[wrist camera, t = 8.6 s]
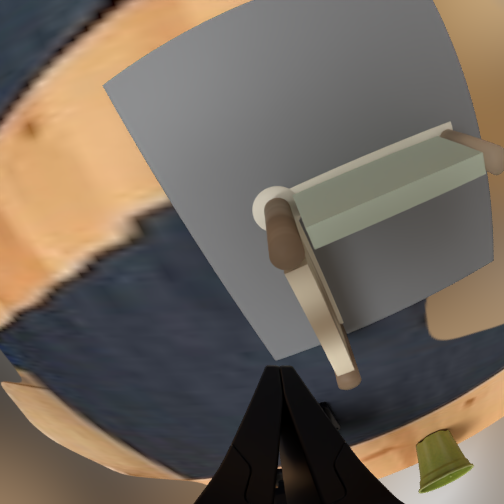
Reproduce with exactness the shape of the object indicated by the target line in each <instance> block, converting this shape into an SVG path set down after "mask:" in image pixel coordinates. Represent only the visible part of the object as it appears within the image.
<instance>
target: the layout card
mask: <svg viewBox="0 0 504 504" xmlns="http://www.w3.org/2000/svg"><path fill="white" fill-rule="evenodd" d="M103 87H104V89H105V91H106V92H107V94H108V96H109V98H110V100H111V101H112V103H113V105H114V107H115V109H116V110H117V112H118V114H119V116H120V117H121V119H122V121H123V123H124V124H125V126H126V128H127V130H128V131H129V133H130V135H131V136H132V138H133V140H134V142H135V143H136V145H137V147H138V148H139V150H140V152H141V153H142V155H143V157H144V159H145V160H146V162H147V164H148V165H149V167H150V169H151V170H152V172H153V174H154V175H155V177H156V179H157V180H158V182H159V183H160V185H161V187H162V188H163V190H164V192H165V193H166V195H167V197H168V198H169V200H170V201H171V203H172V205H173V206H174V208H175V209H176V211H177V213H178V214H179V216H180V217H181V219H182V221H183V222H184V224H185V225H186V227H187V229H188V230H189V232H190V233H191V235H192V236H193V238H194V240H195V241H196V243H197V244H198V246H199V247H200V249H201V251H202V252H203V254H204V255H205V257H206V258H207V260H208V261H209V263H210V264H211V266H212V267H213V269H214V271H215V272H216V274H217V275H218V277H219V278H220V280H221V281H222V283H223V284H224V286H225V287H226V289H227V290H228V292H229V293H230V295H231V296H232V298H233V299H234V301H235V302H236V304H237V305H238V307H239V308H240V310H241V311H242V313H243V314H244V315H245V317H246V318H247V320H248V321H249V323H250V324H251V326H252V327H253V329H254V330H255V332H256V333H257V334H258V336H259V337H260V339H261V340H262V342H263V343H264V345H265V346H266V347H267V349H268V350H269V352H270V353H271V355H272V356H273V357H274V359H275V360H279V359H282V358H285V357H288V356H291V355H293V354H296V353H299V352H302V351H304V350H307V349H310V348H312V347H315V346H318V345H320V344H321V343H320V341H319V339H318V337H317V336H316V334H315V332H314V330H313V328H312V326H311V324H310V322H309V320H308V318H307V316H306V314H305V312H304V310H303V309H302V307H301V305H300V303H299V301H298V299H297V297H296V295H295V293H294V291H293V289H292V288H291V286H290V284H289V282H288V280H287V278H286V276H285V274H284V270H281V269H278V268H276V267H275V266H274V265H273V264H272V263H271V261H270V259H269V251H268V242H267V233H266V224H265V215H264V207H265V205H266V203H267V202H268V201H269V200H271V199H273V198H282V199H284V200H286V201H287V202H288V203H289V205H290V207H291V210H292V213H293V216H294V219H295V222H296V225H297V228H298V231H299V233H300V236H301V238H302V240H303V242H304V244H305V246H306V248H307V251H308V253H309V255H310V257H311V259H312V261H313V264H314V266H315V268H316V270H317V272H318V275H319V277H320V279H321V281H322V284H323V286H324V288H325V290H326V293H327V295H328V297H329V300H330V302H331V304H332V306H333V309H334V311H335V313H336V316H337V318H338V320H339V323H340V324H343V326H344V328H345V331H346V334H348V333H350V332H353V331H355V330H358V329H360V328H362V327H365V326H367V325H369V324H371V323H374V322H376V321H378V320H380V319H383V318H385V317H387V316H389V315H391V314H394V313H396V312H398V311H400V310H402V309H404V308H406V307H408V306H411V305H413V304H415V303H417V302H419V301H421V300H423V299H425V298H427V297H429V296H431V295H432V294H434V293H436V292H438V291H440V290H442V289H444V288H446V287H448V286H450V285H452V284H453V283H455V282H457V281H459V280H461V279H463V278H464V277H466V276H468V275H470V274H471V273H473V272H475V271H477V270H478V269H480V268H482V267H484V266H485V265H487V264H489V263H490V262H492V261H493V260H494V259H493V258H494V255H493V226H492V212H491V200H490V191H489V183H488V176H487V171H486V174H485V175H483V176H480V177H478V178H476V179H474V180H472V181H470V182H467V183H465V184H463V185H461V186H459V187H457V188H454V189H452V190H450V191H448V192H446V193H443V194H441V195H439V196H437V197H434V198H432V199H430V200H428V201H426V202H423V203H421V204H419V205H417V206H414V207H412V208H410V209H408V210H405V211H403V212H401V213H399V214H396V215H394V216H392V217H389V218H387V219H385V220H383V221H380V222H378V223H376V224H373V225H371V226H369V227H367V228H364V229H362V230H360V231H357V232H355V233H353V234H350V235H348V236H346V237H343V238H341V239H339V240H336V241H334V242H332V243H329V244H327V245H325V246H322V247H320V248H317V249H314V247H313V244H312V242H311V240H310V237H309V235H308V233H307V231H306V228H305V226H304V223H303V221H302V218H301V215H300V213H299V210H298V208H297V205H296V203H295V200H294V198H293V195H294V194H296V193H299V192H301V191H303V190H306V189H308V188H310V187H313V186H315V185H317V184H320V183H322V182H324V181H327V180H329V179H331V178H334V177H336V176H339V175H341V174H343V173H346V172H348V171H351V170H353V169H355V168H358V167H360V166H363V165H365V164H368V163H370V162H373V161H375V160H377V159H380V158H382V157H385V156H387V155H390V154H392V153H395V152H397V151H400V150H403V149H405V148H408V147H410V146H413V145H415V144H418V143H421V142H423V141H426V140H428V139H431V138H434V137H436V136H439V137H440V135H441V133H442V132H443V131H444V130H446V129H450V130H454V131H457V132H460V133H464V134H467V135H470V136H473V137H476V138H479V139H481V136H480V132H479V127H478V123H477V119H476V115H475V111H474V107H473V103H472V100H471V97H470V93H469V90H468V86H467V83H466V80H465V77H464V74H463V71H462V68H461V65H460V63H459V60H458V57H457V55H456V52H455V49H454V47H453V44H452V42H451V39H450V37H449V34H448V32H447V30H446V27H445V25H444V23H443V21H442V18H441V16H440V14H439V12H438V10H437V8H436V6H435V4H434V2H433V0H253V1H250V2H248V3H245V4H243V5H240V6H238V7H236V8H233V9H231V10H229V11H227V12H224V13H222V14H220V15H218V16H216V17H214V18H212V19H210V20H208V21H205V22H203V23H201V24H200V25H198V26H196V27H194V28H192V29H190V30H188V31H186V32H184V33H183V34H181V35H179V36H177V37H175V38H174V39H172V40H170V41H168V42H167V43H165V44H163V45H162V46H160V47H158V48H157V49H155V50H153V51H152V52H150V53H149V54H147V55H145V56H144V57H142V58H141V59H139V60H138V61H136V62H135V63H133V64H132V65H130V66H129V67H127V68H126V69H125V70H123V71H122V72H120V73H119V74H117V75H116V76H115V77H113V78H112V79H111V80H109V81H108V82H107V83H105V84H104V85H103Z"/></svg>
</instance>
